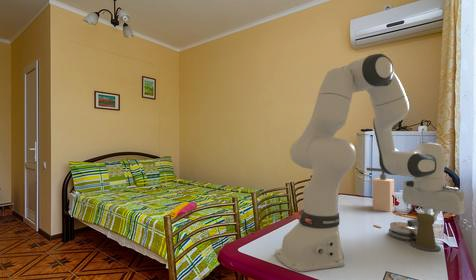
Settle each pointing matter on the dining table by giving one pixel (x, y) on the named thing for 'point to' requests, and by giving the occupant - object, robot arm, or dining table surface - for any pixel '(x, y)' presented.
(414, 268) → the dining table surface
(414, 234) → the saucepan
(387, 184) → the soap dispenser
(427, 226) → the cork
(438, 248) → the coaster
